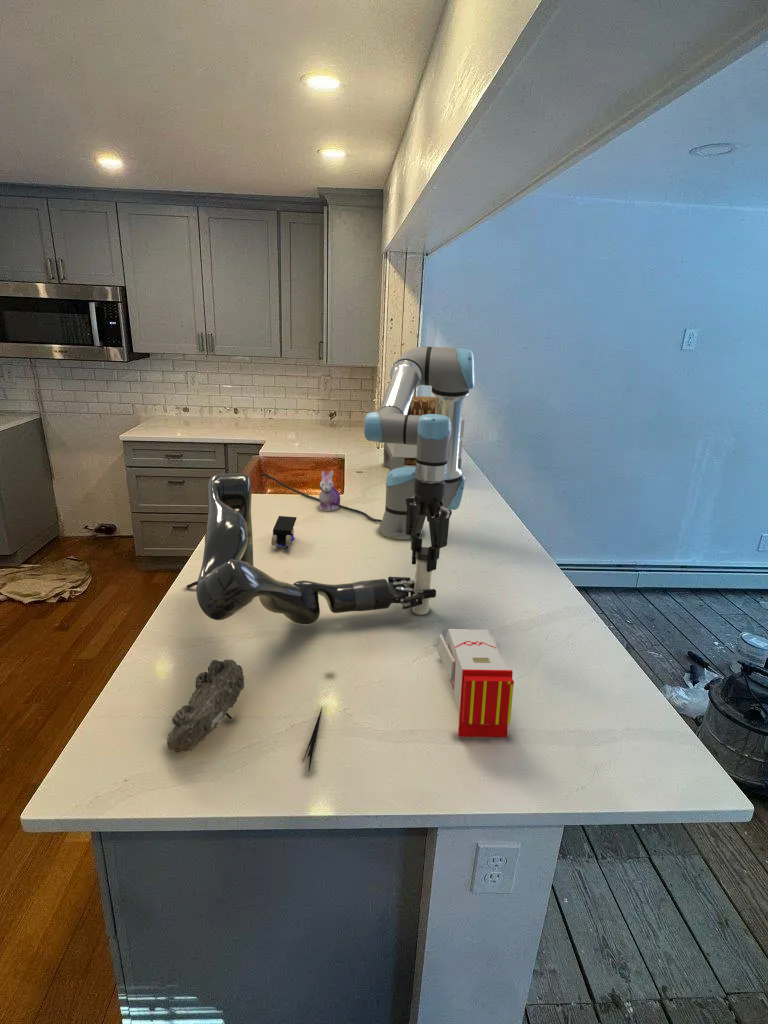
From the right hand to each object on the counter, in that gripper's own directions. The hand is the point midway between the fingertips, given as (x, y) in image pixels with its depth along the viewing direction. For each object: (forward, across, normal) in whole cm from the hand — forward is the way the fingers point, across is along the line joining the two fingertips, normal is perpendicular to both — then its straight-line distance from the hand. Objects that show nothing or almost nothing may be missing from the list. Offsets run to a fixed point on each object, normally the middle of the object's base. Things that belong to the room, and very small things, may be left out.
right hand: (423, 566), depth 145 cm
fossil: (+13, -3, +61) cm, 62 cm away
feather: (+13, -17, +46) cm, 50 cm away
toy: (+13, -30, +16) cm, 37 cm away
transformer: (+13, +92, -96) cm, 134 cm away
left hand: (+7, -1, -2) cm, 7 cm away
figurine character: (+13, +58, +4) cm, 60 cm away
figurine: (+13, +78, -30) cm, 85 cm away
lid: (-4, 0, 0) cm, 4 cm away
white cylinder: (+13, 0, 0) cm, 13 cm away
